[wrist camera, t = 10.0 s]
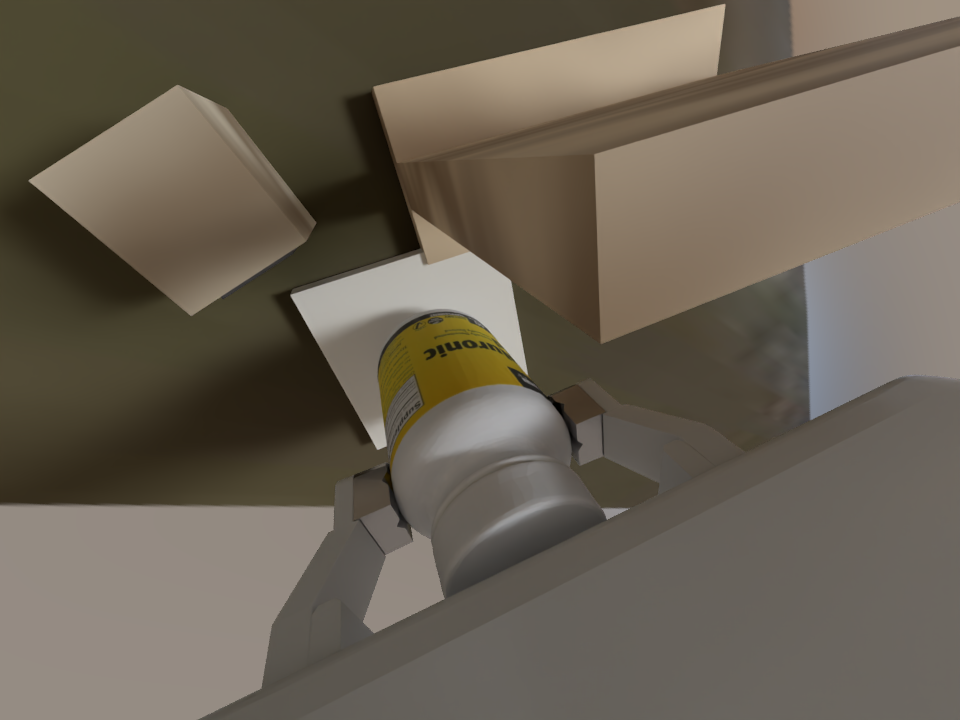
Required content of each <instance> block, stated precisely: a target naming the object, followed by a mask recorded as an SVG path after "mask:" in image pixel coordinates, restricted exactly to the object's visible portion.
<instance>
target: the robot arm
mask: <svg viewBox="0 0 960 720" xmlns="http://www.w3.org/2000/svg"><path fill="white" fill-rule="evenodd" d="M547 398H548V399H549V400H550V402H551V403H552V405H553V406H554V407H555V408H556V410H557V411H558V412H559V413H560V415H561V416H562V418H563V419H564V421H565V423H566V426H567V428H568V430H569V434H570V438H571V444H572V454H571V455H572V456H573V458H574V459H575V460H576V461H577V463H578V464H579V465H583V464H585V463H588V462H590V461H592V460H595V459H597V458H599V457H602V456H604V457H605V458H607V459H609V460H612V461H614V462H616V463H618V464H620V465H622V466H624V467H626V468H628V469H631V470H633V471H635V472H637V473H639V474H641V475H643V476H645V477H647V478H650V479H652V480H654V481H656V482H658V483H659V493H658V495H657V496H655V497H653V498H651V499H649V500H647V501H645V502H643V503H640V504H638V505H636V506H634V507H632V508H630V509H628V510H626V511H624V512H622V513H620V514H618V515H616V516H614V517H612V518H610V519H608V520H606V521H604V522H602V523H600V524H598V525H596V526H593V527H591V528H589V529H587V530H585V531H583V532H581V533H579V534H577V535H575V536H573V537H571V538H569V539H567V540H565V541H563V542H561V543H559V544H557V545H555V546H553V547H551V548H548V549H546V550H544V551H542V552H540V553H538V554H536V555H534V556H532V557H530V558H528V559H526V560H524V561H522V562H520V563H518V564H516V565H514V566H512V567H510V568H508V569H506V570H503V571H501V572H499V573H497V574H495V575H493V576H491V577H489V578H487V579H485V580H483V581H481V582H479V583H477V584H475V585H473V586H471V587H469V588H467V589H465V590H463V591H460V592H458V593H456V594H454V595H452V596H450V597H448V598H446V599H444V600H442V601H440V602H438V603H436V604H434V605H432V606H430V607H428V608H426V609H424V610H422V611H420V612H418V613H415V614H413V615H411V616H409V617H407V618H405V619H403V620H401V621H399V622H397V623H395V624H393V625H391V626H389V627H387V628H385V629H383V630H381V631H379V632H377V633H373V632H372V631H371V630H370V629H369V628H368V627H367V626H366V625H365V624H364V623H363V620H364V617H365V614H366V611H367V608H368V606H369V603H370V600H371V597H372V594H373V591H374V589H375V586H376V583H377V580H378V577H379V574H380V571H381V569H382V566H383V563H384V560H385V555H386V554H388V553H390V552H392V551H394V550H396V549H399V548H401V547H403V546H405V545H407V544H409V543H411V542H413V538H412V532H411V526H410V524H409V523H408V522H407V521H406V520H405V518H404V517H403V515H402V514H401V512H400V510H399V508H398V505H397V502H396V499H395V495H394V491H393V486H392V480H391V472H390V467H389V464H388V463H387V462H386V463H383V464H381V465H378V466H375V467H373V468H370V469H368V470H365V471H362V472H360V473H357V474H355V475H353V476H351V477H348V478H345V479H343V480H340V481H337V484H336V486H335V505H334V530H333V531H331V532H329V533H328V534H327V536H326V537H325V539H324V541H323V542H322V544H321V546H320V547H319V549H318V550H317V552H316V554H315V555H314V557H313V559H312V560H311V562H310V564H309V565H308V567H307V569H306V570H305V572H304V574H303V575H302V577H301V579H300V580H299V582H298V583H297V585H296V587H295V588H294V590H293V592H292V593H291V595H290V596H289V598H288V600H287V601H286V603H285V605H284V606H283V608H282V610H281V611H280V613H279V615H278V616H277V618H276V619H275V621H274V623H273V625H272V629H271V635H270V641H269V647H268V653H267V659H266V665H265V671H264V677H263V683H262V689H260V690H258V691H256V692H254V693H252V694H250V695H247V696H245V697H243V698H241V699H239V700H237V701H235V702H233V703H231V704H229V705H227V706H225V707H223V708H221V709H219V710H217V711H215V712H213V713H211V714H208V715H207V716H205V717H202V718H200V719H198V720H960V379H954V378H946V377H938V376H926V375H908V376H904V377H900V378H898V379H895V380H893V381H890V382H888V383H886V384H884V385H882V386H880V387H878V388H876V389H874V390H872V391H870V392H868V393H866V394H864V395H861V396H860V397H857V398H855V399H854V400H851V401H849V402H847V403H845V404H843V405H841V406H839V407H837V408H835V409H833V410H831V411H829V412H827V413H825V414H823V415H821V416H819V417H817V418H815V419H813V420H810V421H808V422H806V423H804V424H802V425H800V426H798V427H796V428H794V429H792V430H790V431H788V432H786V433H784V434H782V435H780V436H778V437H776V438H774V439H772V440H769V441H767V442H765V443H763V444H761V445H759V446H757V447H755V448H753V449H751V450H749V451H747V452H744V451H743V450H741V449H740V448H738V447H737V446H736V445H734V444H733V443H732V442H730V441H729V440H727V439H726V438H725V437H723V436H722V435H721V434H719V433H718V432H716V431H715V430H714V429H712V428H711V427H710V426H708V425H707V424H703V423H699V422H695V421H691V420H687V419H683V418H679V417H675V416H671V415H668V414H664V413H660V412H656V411H652V410H648V409H644V408H640V407H636V406H632V405H628V404H625V405H621V404H620V403H618V402H617V401H616V400H615V399H614V398H613V397H612V396H610V395H609V394H608V393H607V392H606V391H605V390H603V389H602V388H601V387H600V386H599V385H598V384H597V383H595V382H594V381H593V380H592V379H589V378H588V379H586V380H583V381H581V382H579V383H576V384H575V385H572V386H570V387H567V388H565V389H563V390H560V391H558V392H555V393H553V394H551V395H548V397H547Z"/></svg>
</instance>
